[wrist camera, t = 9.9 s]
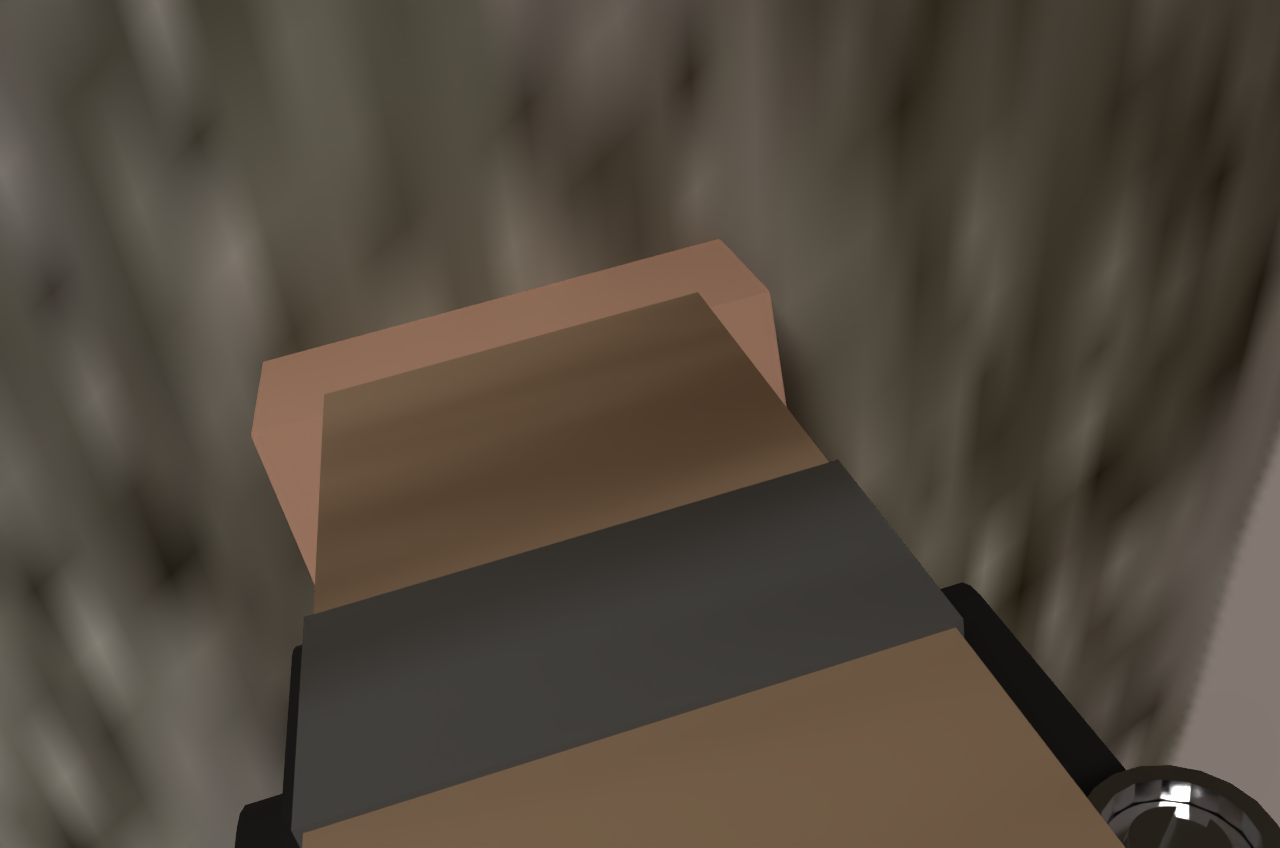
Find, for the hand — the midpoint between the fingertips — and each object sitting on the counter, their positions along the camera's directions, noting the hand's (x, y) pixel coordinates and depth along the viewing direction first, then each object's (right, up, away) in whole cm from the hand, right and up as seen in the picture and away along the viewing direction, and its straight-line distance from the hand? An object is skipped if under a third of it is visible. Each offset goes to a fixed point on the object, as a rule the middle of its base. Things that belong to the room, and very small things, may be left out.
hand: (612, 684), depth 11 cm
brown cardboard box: (0, +1, +2) cm, 2 cm away
